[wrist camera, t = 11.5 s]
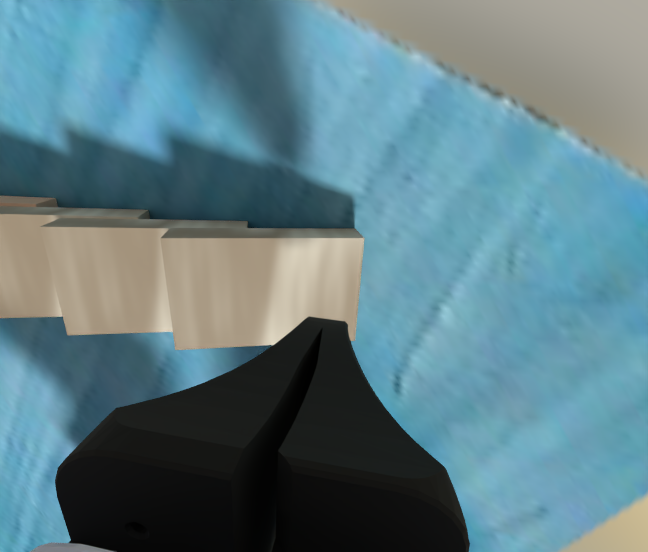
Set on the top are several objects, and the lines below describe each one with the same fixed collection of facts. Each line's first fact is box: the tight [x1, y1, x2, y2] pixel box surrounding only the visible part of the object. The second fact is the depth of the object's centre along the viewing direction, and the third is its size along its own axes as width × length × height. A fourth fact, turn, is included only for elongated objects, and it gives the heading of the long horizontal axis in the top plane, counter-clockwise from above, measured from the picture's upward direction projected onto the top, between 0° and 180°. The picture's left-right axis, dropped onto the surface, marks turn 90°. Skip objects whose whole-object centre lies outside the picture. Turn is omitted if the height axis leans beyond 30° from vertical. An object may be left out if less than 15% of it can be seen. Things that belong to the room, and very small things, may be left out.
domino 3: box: [160, 228, 364, 350], centre depth 15 cm, size 2×5×8 cm
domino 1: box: [0, 206, 150, 318], centre depth 17 cm, size 2×5×8 cm
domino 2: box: [40, 218, 248, 335], centre depth 16 cm, size 2×5×8 cm
